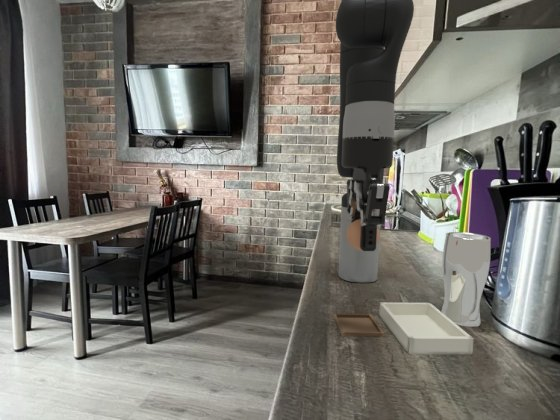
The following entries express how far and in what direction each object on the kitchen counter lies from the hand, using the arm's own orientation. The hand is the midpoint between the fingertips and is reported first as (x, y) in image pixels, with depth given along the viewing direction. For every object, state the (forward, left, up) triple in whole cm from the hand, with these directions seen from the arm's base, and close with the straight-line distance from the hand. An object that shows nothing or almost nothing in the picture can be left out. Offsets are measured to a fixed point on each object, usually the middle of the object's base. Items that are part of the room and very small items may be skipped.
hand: (362, 245), depth 50 cm
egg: (0, 0, -1) cm, 1 cm away
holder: (0, 0, -14) cm, 14 cm away
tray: (+2, +9, -14) cm, 17 cm away
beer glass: (-3, +19, -14) cm, 24 cm away
